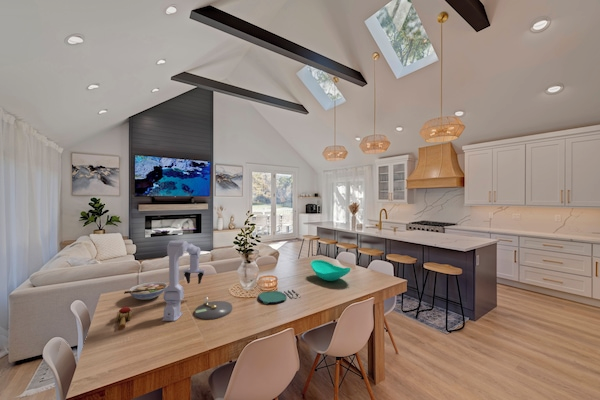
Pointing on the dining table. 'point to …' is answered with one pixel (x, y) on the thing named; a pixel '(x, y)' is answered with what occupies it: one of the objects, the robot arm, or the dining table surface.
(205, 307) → the tuner dial
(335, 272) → the table top decor
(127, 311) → the kendama
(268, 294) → the cutlery set
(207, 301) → the brass vanity light
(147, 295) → the ramen bowl
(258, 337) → the dining table surface
